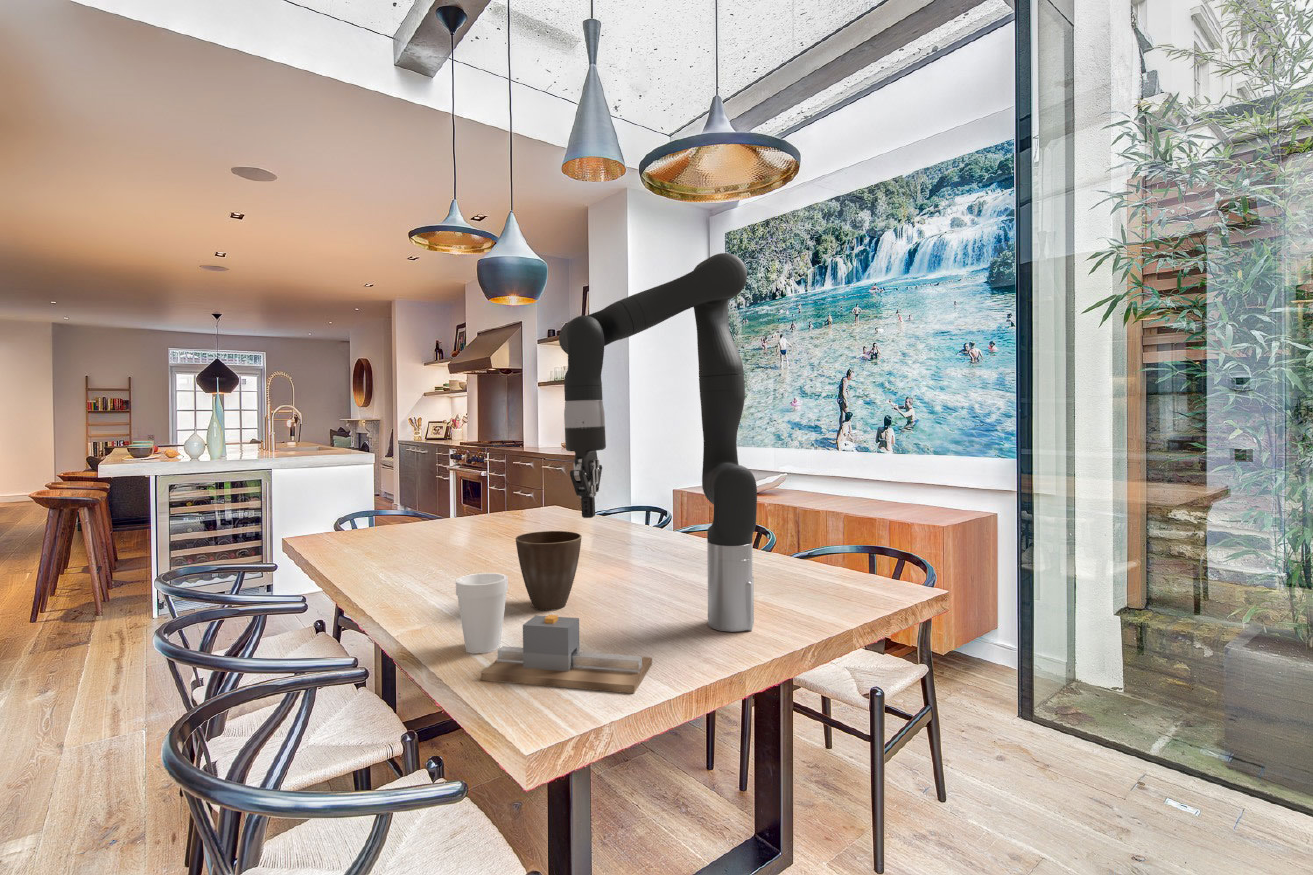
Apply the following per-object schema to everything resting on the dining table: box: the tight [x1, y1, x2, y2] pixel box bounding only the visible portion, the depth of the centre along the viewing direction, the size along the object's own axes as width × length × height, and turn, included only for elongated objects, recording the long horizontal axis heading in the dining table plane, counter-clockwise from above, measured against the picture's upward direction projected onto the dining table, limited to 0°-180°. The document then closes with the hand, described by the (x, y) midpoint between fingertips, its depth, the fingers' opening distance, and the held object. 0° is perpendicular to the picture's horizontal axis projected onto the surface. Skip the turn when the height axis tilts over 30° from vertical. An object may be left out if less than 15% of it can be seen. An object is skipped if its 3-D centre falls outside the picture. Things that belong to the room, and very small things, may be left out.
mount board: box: [480, 656, 653, 694], centre depth 109 cm, size 26×12×1 cm, turn 77°
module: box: [522, 614, 581, 671], centre depth 110 cm, size 8×5×8 cm
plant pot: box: [515, 530, 583, 611], centre depth 148 cm, size 15×15×16 cm
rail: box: [496, 645, 643, 674], centre depth 109 cm, size 25×3×2 cm, turn 77°
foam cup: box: [455, 572, 509, 654], centre depth 121 cm, size 10×9×13 cm
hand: (588, 517), depth 122 cm, fingers closed
